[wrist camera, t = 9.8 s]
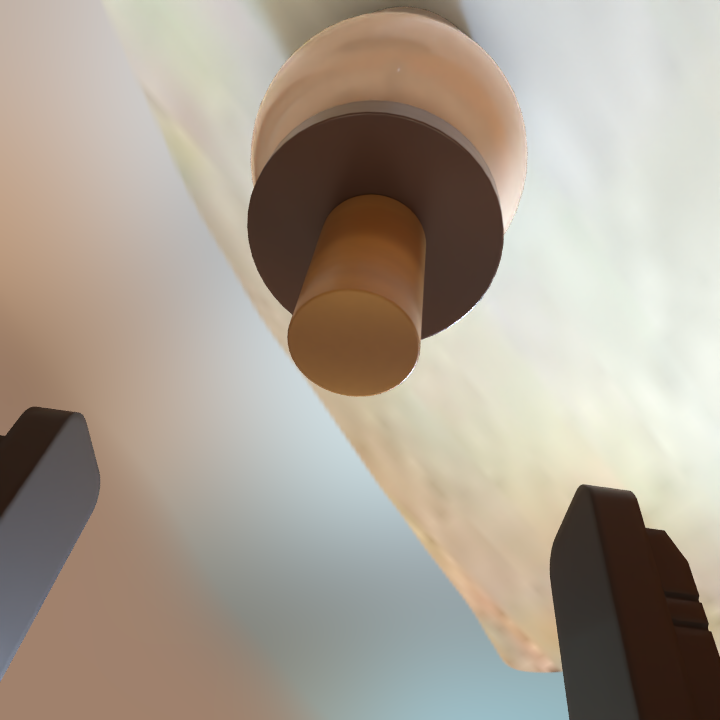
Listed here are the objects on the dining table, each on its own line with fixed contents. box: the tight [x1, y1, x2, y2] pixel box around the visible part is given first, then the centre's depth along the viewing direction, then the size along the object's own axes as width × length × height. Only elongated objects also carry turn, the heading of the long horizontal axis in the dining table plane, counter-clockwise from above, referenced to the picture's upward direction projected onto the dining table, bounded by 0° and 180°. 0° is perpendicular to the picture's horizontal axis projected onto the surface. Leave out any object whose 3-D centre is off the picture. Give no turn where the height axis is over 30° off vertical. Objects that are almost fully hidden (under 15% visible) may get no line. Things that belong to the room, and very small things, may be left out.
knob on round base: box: [247, 100, 504, 397], centre depth 16 cm, size 7×7×6 cm
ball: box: [251, 11, 528, 234], centre depth 21 cm, size 9×9×9 cm
